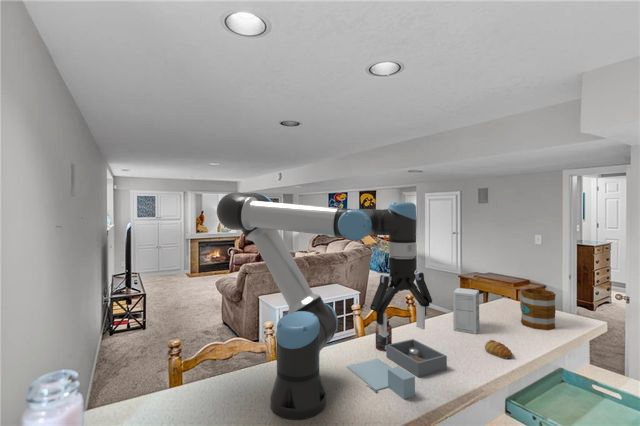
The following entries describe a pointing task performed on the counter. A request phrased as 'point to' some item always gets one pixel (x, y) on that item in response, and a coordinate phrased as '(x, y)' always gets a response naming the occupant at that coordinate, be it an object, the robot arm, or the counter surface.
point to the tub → (400, 356)
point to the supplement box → (466, 310)
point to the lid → (385, 377)
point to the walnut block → (417, 359)
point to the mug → (538, 308)
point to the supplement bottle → (383, 338)
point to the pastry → (498, 349)
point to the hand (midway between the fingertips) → (402, 331)
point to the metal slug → (413, 352)
